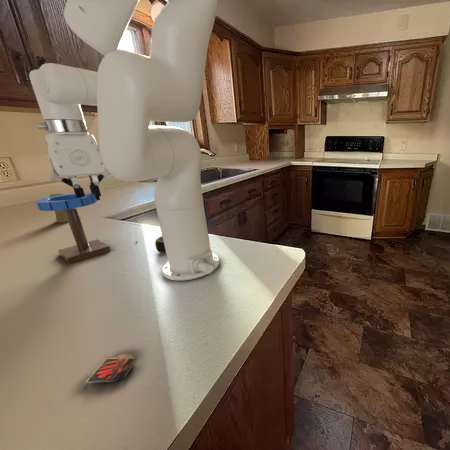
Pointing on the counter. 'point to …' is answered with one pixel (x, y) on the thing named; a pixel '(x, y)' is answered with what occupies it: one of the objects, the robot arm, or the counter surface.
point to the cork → (60, 211)
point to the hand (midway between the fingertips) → (90, 200)
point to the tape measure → (160, 245)
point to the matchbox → (112, 369)
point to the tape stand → (80, 241)
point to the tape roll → (65, 202)
